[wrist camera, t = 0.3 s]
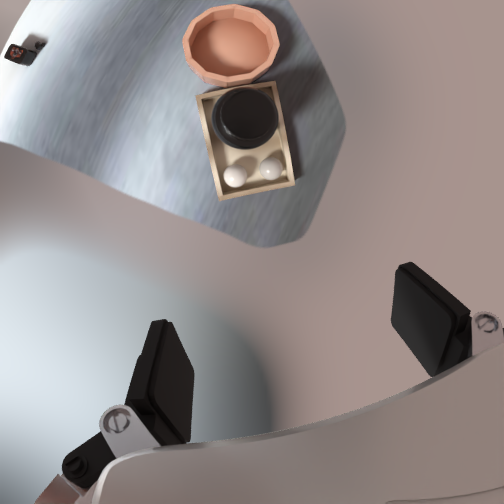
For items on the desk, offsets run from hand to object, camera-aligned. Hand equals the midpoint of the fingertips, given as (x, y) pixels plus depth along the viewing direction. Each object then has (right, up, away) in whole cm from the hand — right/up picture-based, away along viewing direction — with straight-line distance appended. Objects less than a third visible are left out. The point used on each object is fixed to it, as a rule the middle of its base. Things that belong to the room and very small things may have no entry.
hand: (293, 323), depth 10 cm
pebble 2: (+1, +14, +25) cm, 29 cm away
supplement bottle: (-3, +19, +22) cm, 30 cm away
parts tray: (-2, +17, +23) cm, 29 cm away
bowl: (-4, +29, +18) cm, 35 cm away
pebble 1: (-4, +13, +25) cm, 28 cm away
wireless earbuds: (-38, +35, +12) cm, 53 cm away
